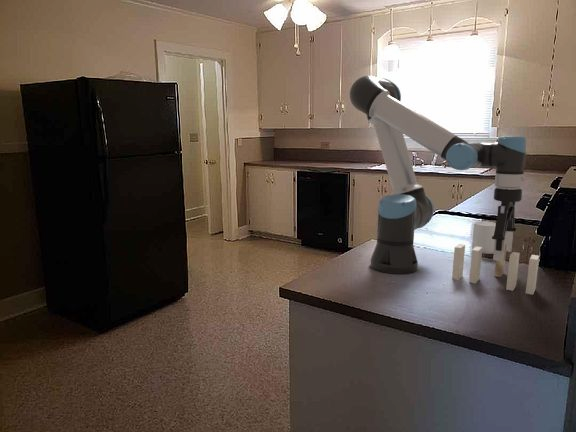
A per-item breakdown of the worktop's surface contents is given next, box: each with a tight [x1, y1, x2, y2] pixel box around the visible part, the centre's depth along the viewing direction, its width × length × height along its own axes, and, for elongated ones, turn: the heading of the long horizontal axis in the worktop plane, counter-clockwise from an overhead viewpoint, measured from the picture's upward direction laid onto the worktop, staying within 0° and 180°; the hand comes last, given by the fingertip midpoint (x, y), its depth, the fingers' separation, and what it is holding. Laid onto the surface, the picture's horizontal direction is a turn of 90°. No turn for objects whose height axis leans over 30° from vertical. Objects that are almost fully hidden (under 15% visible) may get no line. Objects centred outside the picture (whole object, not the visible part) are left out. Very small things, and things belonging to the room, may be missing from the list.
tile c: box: [505, 251, 521, 292], centre depth 124 cm, size 2×5×10 cm, turn 144°
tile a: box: [451, 243, 466, 281], centre depth 133 cm, size 2×5×10 cm, turn 144°
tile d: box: [525, 254, 540, 295], centre depth 121 cm, size 2×5×10 cm, turn 144°
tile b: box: [468, 246, 483, 284], centre depth 130 cm, size 2×5×10 cm, turn 144°
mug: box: [471, 220, 496, 255], centre depth 162 cm, size 9×12×11 cm
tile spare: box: [493, 243, 507, 278], centre depth 136 cm, size 2×5×10 cm, turn 144°
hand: (502, 255), depth 135 cm, fingers open, 13 cm apart
